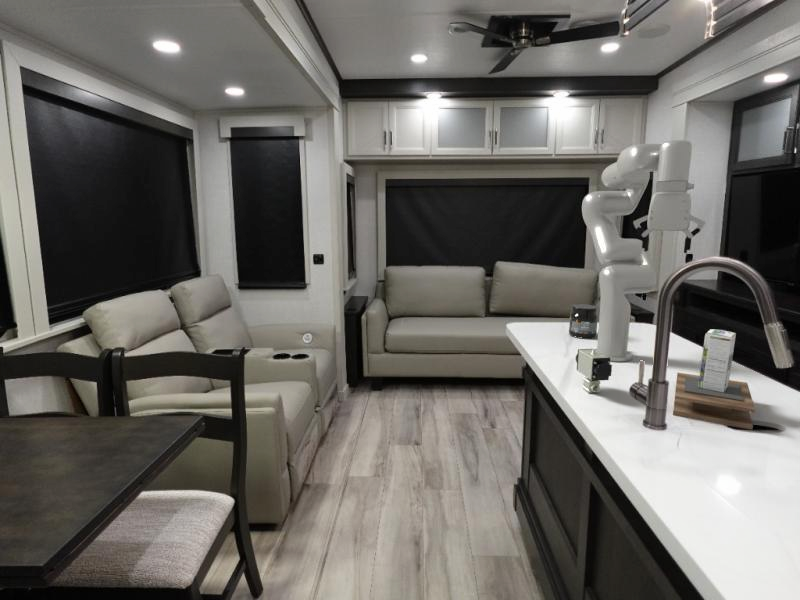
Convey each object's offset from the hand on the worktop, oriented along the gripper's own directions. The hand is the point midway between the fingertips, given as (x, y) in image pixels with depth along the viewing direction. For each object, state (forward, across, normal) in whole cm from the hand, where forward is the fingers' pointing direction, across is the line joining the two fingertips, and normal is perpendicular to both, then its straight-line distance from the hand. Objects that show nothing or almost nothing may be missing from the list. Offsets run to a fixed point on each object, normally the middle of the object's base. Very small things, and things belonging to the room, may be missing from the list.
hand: (665, 251), depth 134 cm
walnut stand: (+38, -14, +12) cm, 43 cm away
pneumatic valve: (+38, +14, +15) cm, 44 cm away
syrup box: (+33, -14, +12) cm, 38 cm away
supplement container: (+38, +28, -46) cm, 66 cm away
